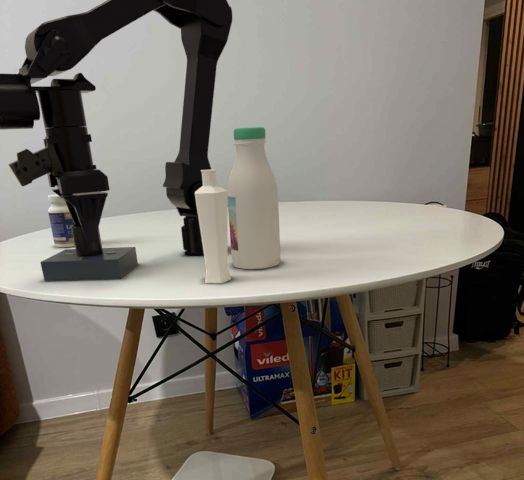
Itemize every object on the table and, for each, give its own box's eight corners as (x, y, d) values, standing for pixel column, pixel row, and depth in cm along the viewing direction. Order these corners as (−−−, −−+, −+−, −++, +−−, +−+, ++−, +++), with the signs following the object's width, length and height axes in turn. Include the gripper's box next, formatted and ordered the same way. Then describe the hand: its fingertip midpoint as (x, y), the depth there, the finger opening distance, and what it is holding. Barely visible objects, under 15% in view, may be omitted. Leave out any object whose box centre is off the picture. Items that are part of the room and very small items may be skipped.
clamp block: (138, 264, 84) (135, 245, 82) (121, 278, 75) (117, 258, 74) (68, 266, 84) (64, 248, 83) (44, 281, 76) (39, 260, 75)
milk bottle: (287, 260, 82) (284, 126, 74) (268, 271, 75) (262, 126, 67) (245, 257, 85) (237, 128, 77) (223, 268, 78) (212, 129, 70)
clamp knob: (74, 253, 80) (69, 222, 78) (100, 249, 81) (95, 219, 79) (78, 257, 76) (72, 225, 74) (105, 254, 78) (99, 222, 76)
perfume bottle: (207, 286, 69) (196, 171, 63) (197, 279, 73) (187, 170, 67) (237, 281, 71) (230, 169, 65) (227, 274, 75) (219, 168, 69)
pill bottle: (74, 247, 100) (64, 196, 96) (49, 248, 101) (38, 196, 97) (89, 242, 105) (80, 192, 101) (65, 242, 106) (55, 193, 102)
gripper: (3, 132, 76) (26, 235, 82) (5, 127, 61) (34, 255, 67) (79, 129, 80) (96, 227, 87) (99, 124, 65) (119, 244, 71)
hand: (86, 237), depth 78 cm, fingers open, 9 cm apart
